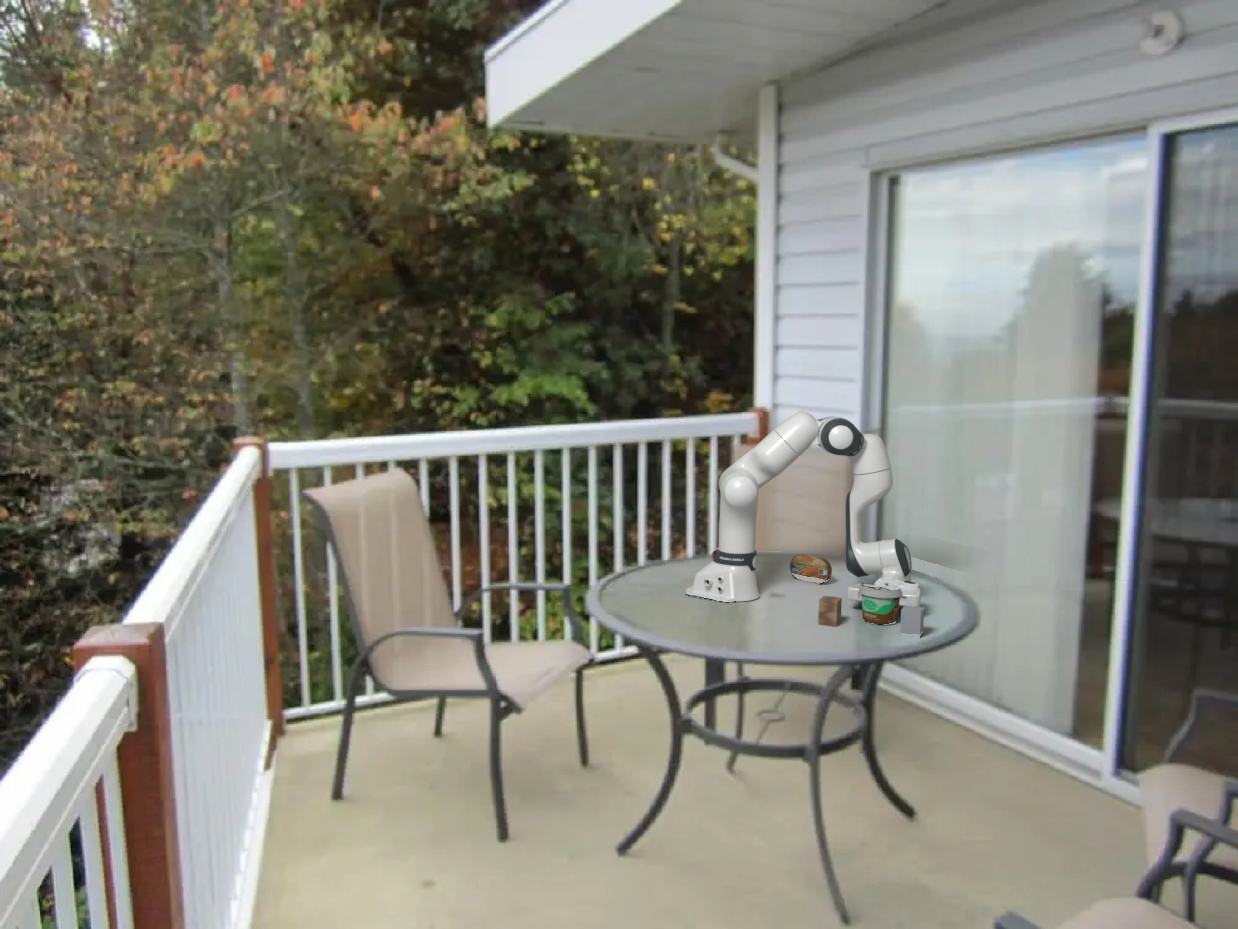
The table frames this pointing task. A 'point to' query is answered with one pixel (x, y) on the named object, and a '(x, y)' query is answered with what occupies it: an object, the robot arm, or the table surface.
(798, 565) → the tin
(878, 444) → the robot arm
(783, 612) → the table surface
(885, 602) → the food container
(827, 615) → the walnut block
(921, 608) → the slate block
